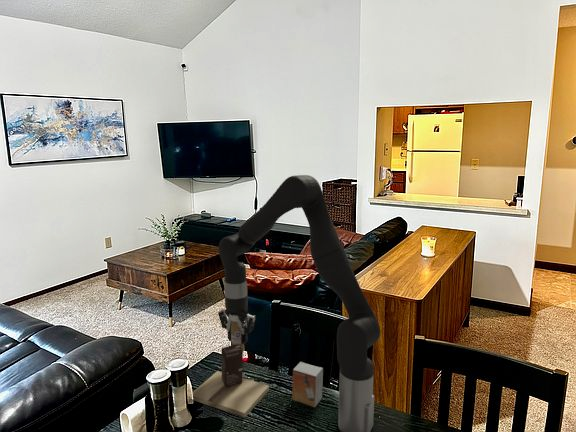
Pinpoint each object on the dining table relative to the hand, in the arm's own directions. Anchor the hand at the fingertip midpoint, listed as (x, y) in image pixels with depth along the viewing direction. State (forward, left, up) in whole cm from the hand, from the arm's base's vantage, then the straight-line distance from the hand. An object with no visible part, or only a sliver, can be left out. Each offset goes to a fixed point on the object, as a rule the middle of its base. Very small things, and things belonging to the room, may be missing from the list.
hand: (237, 341), depth 142 cm
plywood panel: (-4, +11, -12) cm, 17 cm away
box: (-2, +7, -11) cm, 13 cm away
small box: (-27, +2, -12) cm, 30 cm away
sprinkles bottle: (0, 0, -4) cm, 4 cm away
